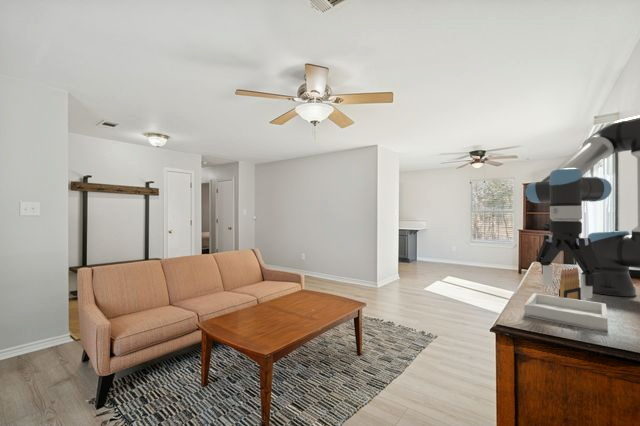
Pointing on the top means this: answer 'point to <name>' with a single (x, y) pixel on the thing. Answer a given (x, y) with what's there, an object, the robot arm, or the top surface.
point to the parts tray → (567, 311)
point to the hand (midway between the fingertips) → (565, 291)
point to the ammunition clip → (570, 284)
